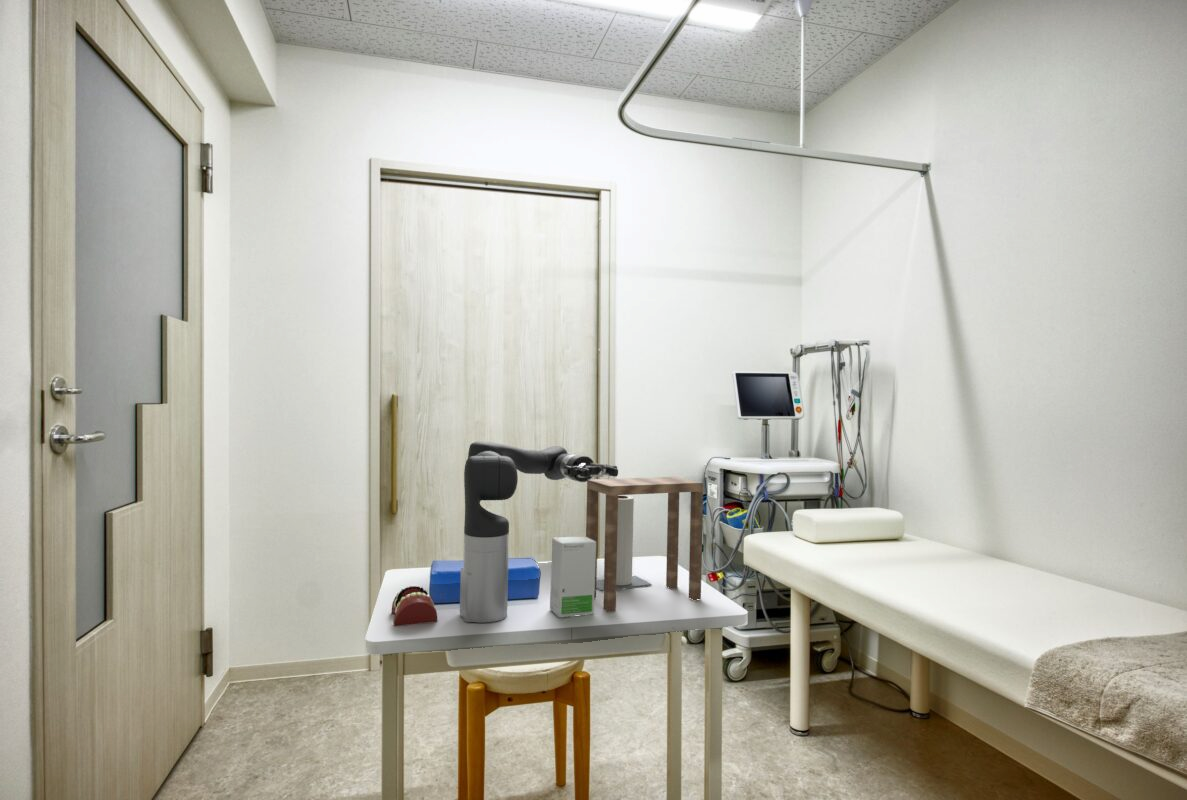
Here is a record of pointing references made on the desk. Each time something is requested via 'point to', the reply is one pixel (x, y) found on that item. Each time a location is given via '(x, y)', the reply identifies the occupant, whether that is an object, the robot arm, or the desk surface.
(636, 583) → the slate mat
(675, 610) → the desk surface
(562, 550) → the skincare box
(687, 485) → the walnut shelf
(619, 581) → the paper towel roll
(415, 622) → the teeth
